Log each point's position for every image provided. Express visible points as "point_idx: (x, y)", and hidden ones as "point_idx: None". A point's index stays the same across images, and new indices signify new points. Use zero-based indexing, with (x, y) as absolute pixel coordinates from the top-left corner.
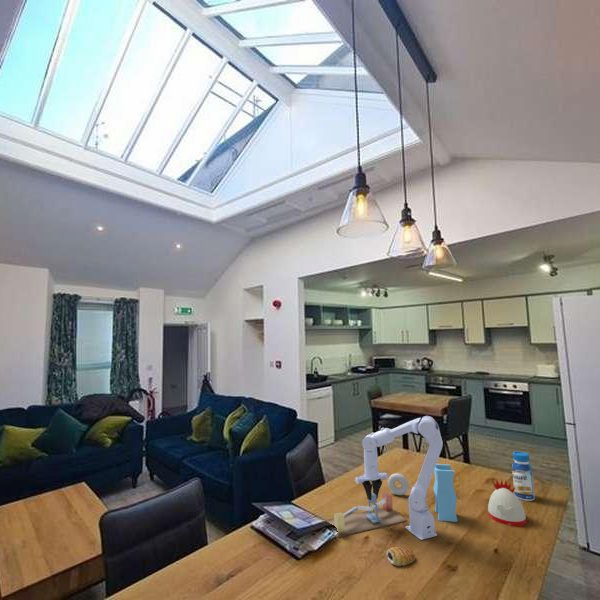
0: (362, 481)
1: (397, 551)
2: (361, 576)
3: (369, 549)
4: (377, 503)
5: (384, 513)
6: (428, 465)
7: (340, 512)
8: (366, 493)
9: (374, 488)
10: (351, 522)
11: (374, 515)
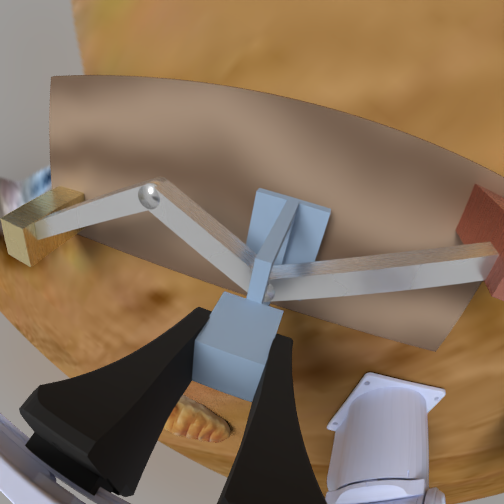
0: (21, 445)
1: (168, 429)
2: (81, 365)
3: (133, 340)
4: (351, 281)
5: (425, 231)
6: None
7: (21, 230)
8: (166, 336)
9: (246, 432)
10: (152, 170)
11: (308, 240)
